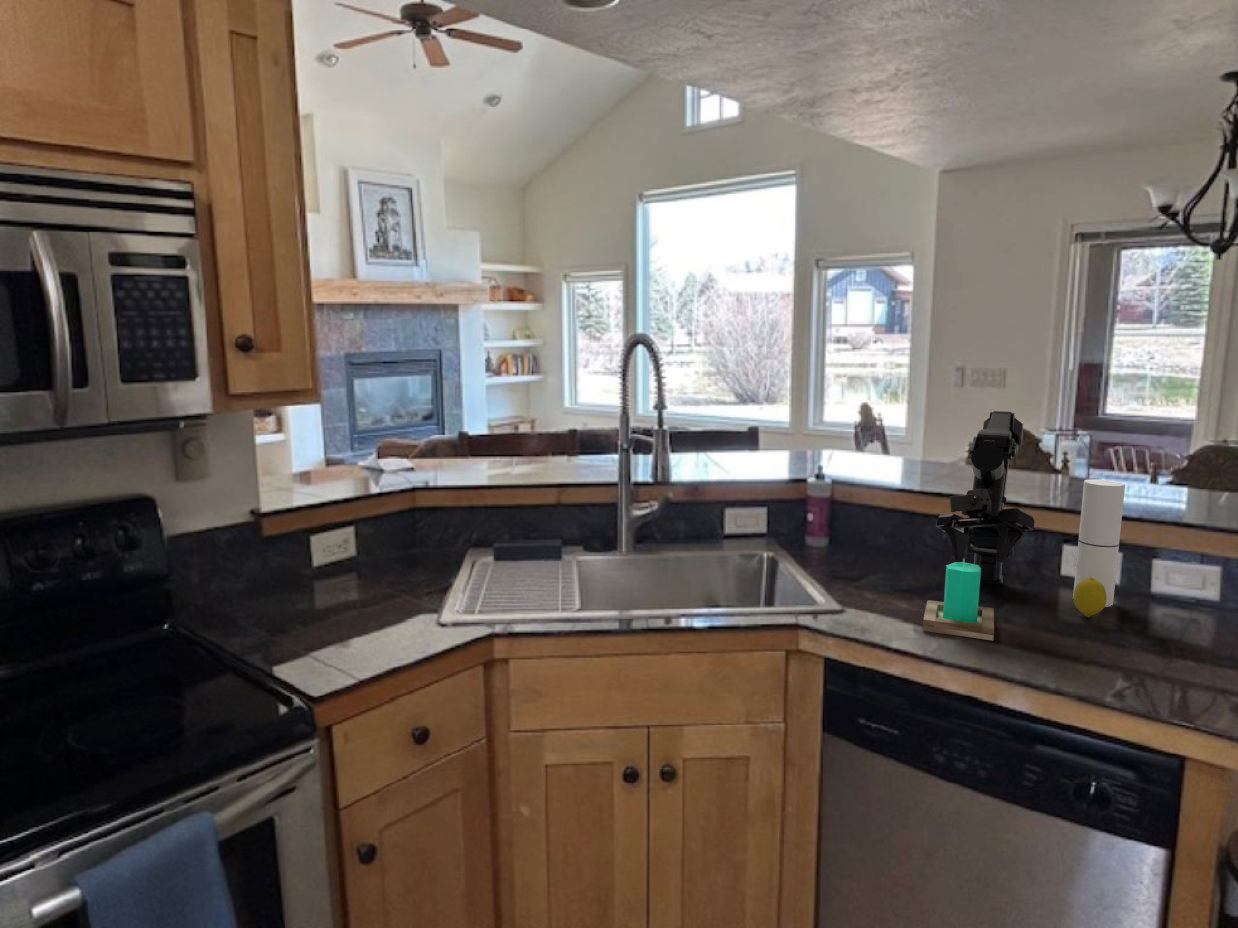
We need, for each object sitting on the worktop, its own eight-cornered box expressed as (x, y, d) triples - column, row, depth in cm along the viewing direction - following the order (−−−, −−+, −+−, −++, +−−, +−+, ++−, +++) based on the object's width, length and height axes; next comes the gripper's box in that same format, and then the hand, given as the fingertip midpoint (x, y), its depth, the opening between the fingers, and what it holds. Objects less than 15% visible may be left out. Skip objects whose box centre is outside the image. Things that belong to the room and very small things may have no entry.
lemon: (1095, 612, 160) (1099, 573, 159) (1109, 622, 155) (1113, 582, 154) (1066, 611, 161) (1070, 572, 160) (1079, 621, 155) (1083, 581, 154)
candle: (965, 613, 157) (970, 553, 155) (983, 624, 151) (988, 562, 149) (936, 615, 156) (940, 554, 154) (953, 626, 150) (958, 563, 148)
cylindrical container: (1075, 604, 165) (1087, 484, 161) (1070, 593, 172) (1081, 478, 168) (1115, 608, 162) (1128, 486, 158) (1109, 598, 169) (1121, 480, 165)
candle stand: (926, 610, 162) (927, 600, 161) (992, 619, 157) (993, 608, 156) (922, 630, 151) (923, 619, 150) (993, 640, 146) (994, 628, 146)
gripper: (923, 480, 169) (912, 552, 165) (1004, 470, 153) (994, 548, 149) (958, 498, 174) (948, 568, 170) (1040, 490, 158) (1031, 566, 154)
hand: (978, 562), depth 160 cm, fingers open, 9 cm apart
